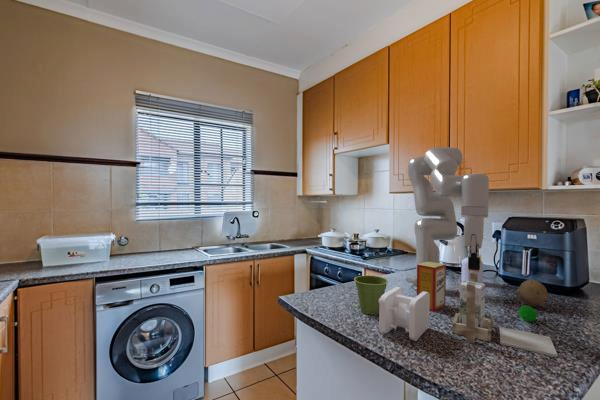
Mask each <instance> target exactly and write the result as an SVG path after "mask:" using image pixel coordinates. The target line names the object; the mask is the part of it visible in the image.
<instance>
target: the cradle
mask: <svg viewBox="0 0 600 400" xmlns="http://www.w3.org/2000/svg"><path fill="white" fill-rule="evenodd" d="M470 282H476V283H478V273H475V272H470ZM452 334H455V335H459V336H465V342H466V343H469V344H473V345H475V342H476V339H477V340H482V341H485V342H490V343H491V342H492V319H489V318H485V329H484V328H479V327H475V284H471V283H467V309H466V325H465V324H460V312H458V313H457V312H455V315H454V317H453V320H452Z"/></svg>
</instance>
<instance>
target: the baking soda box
mask: <svg viewBox="0 0 600 400" xmlns="http://www.w3.org/2000/svg"><path fill="white" fill-rule="evenodd" d="M446 273H447V264H445V263H441V262H440V263H435V262H423V263H420V264H418V265H417V290H416V296H418V295H419V294H420V293H422V292H423V291H425V292H429V295H430V306H429V312H434V313H435V312H436V311H439V310H440V309H442V308H444V307H446V300H447V299H446V298H447V297H446V295H447V294H446V288H447V287H446V286H447V285H446V284H447V282H446V281H447V279H446V278H447V274H446Z"/></svg>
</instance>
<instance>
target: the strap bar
mask: <svg viewBox="0 0 600 400" xmlns="http://www.w3.org/2000/svg"><path fill="white" fill-rule="evenodd" d="M479 257H480V266H481V261H482V254H480V253H479ZM469 271H476V272H480V270H470V269H469Z"/></svg>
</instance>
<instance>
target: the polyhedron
mask: <svg viewBox="0 0 600 400" xmlns="http://www.w3.org/2000/svg"><path fill="white" fill-rule="evenodd" d="M518 315H519V317H520V318H521V319H522V320H524V321H525V322H527V323H528V322H529V323H532V322H534V321H536V320H537V317H538V312H537V310H536V309H534V307H533V306H530V305H527V304H526V305H522V306H520V307H519V309H518Z"/></svg>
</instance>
